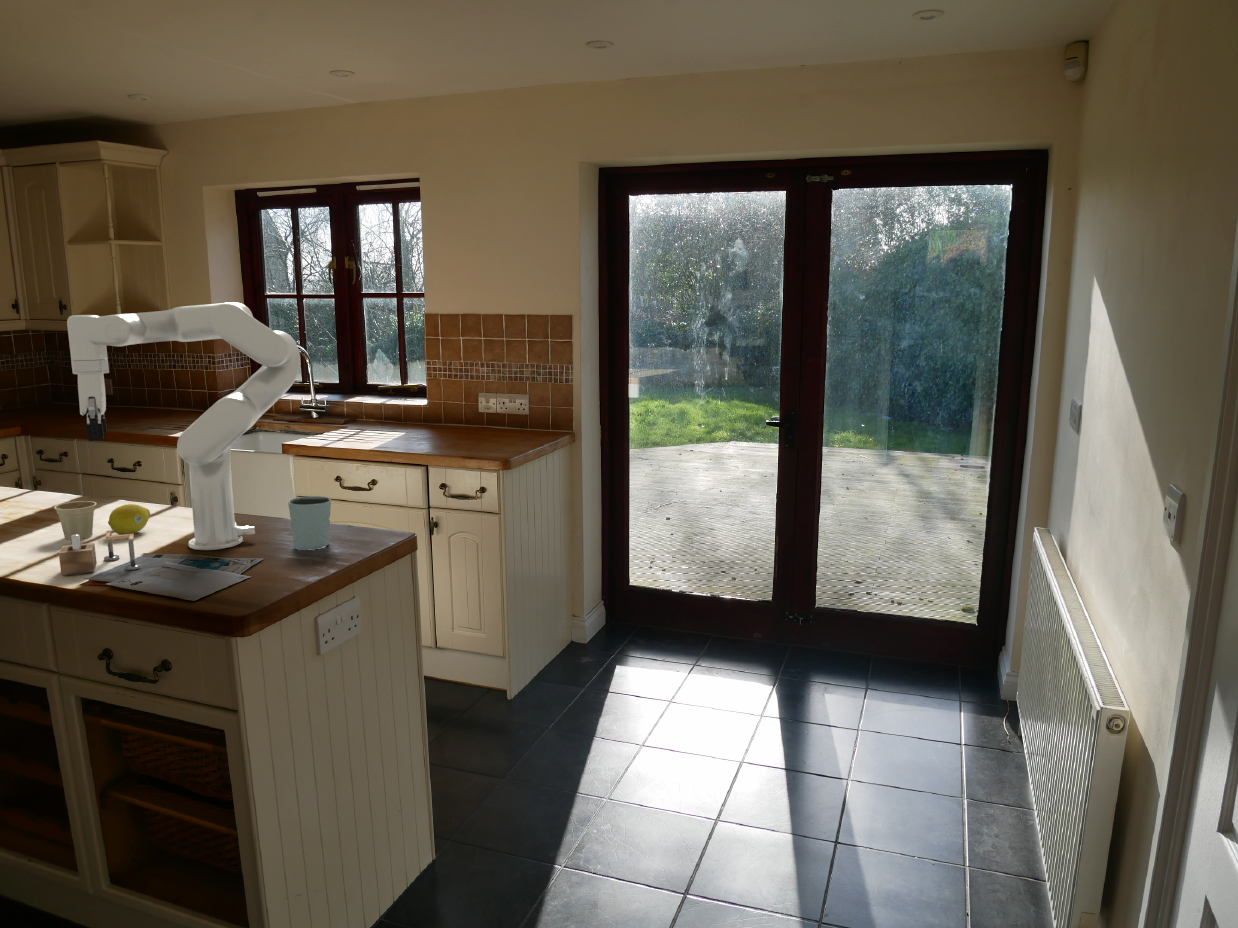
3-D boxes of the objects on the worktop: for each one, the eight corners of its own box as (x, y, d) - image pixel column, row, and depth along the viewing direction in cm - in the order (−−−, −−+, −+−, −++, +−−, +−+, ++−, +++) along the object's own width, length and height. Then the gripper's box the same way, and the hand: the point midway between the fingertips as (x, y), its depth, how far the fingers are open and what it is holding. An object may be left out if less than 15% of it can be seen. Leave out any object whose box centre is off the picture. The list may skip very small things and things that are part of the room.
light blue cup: (282, 547, 220) (279, 501, 218) (313, 538, 229) (310, 493, 226) (311, 553, 215) (308, 506, 213) (341, 543, 224) (339, 498, 222)
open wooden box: (96, 563, 204) (94, 542, 203) (94, 570, 199) (91, 549, 198) (64, 566, 201) (62, 545, 201) (61, 574, 196) (58, 553, 195)
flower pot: (108, 532, 232) (104, 501, 231) (83, 542, 223) (80, 509, 222) (74, 531, 233) (71, 500, 232) (49, 541, 224) (45, 508, 222)
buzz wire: (114, 556, 211) (111, 528, 210) (151, 565, 205) (148, 536, 204) (93, 562, 207) (90, 533, 206) (131, 571, 201) (128, 541, 199)
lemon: (115, 540, 225) (112, 510, 224) (103, 535, 230) (99, 505, 229) (158, 532, 233) (155, 503, 232) (146, 527, 238) (143, 498, 237)
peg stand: (91, 567, 203) (87, 531, 201) (89, 572, 199) (85, 536, 198) (69, 569, 201) (65, 533, 199) (67, 575, 197) (62, 538, 196)
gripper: (75, 365, 215) (83, 433, 218) (68, 370, 200) (76, 443, 203) (110, 364, 218) (117, 431, 222) (105, 369, 203) (113, 441, 206)
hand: (97, 437), depth 212 cm, fingers open, 9 cm apart
